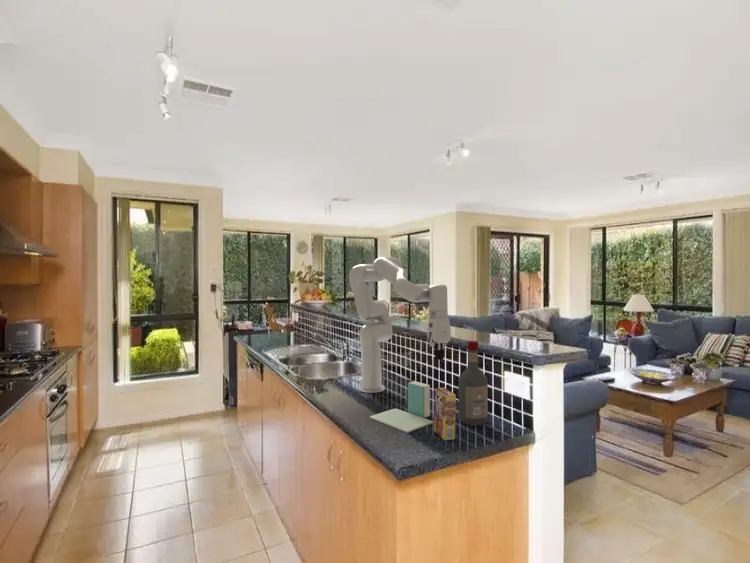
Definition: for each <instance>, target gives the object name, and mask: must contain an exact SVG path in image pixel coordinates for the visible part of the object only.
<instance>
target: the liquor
mask: <svg viewBox="0 0 750 563" xmlns="http://www.w3.org/2000/svg"><path fill="white" fill-rule="evenodd" d="M467 350H468V352H467V353H468V355H467V356H468V357H467V361H468V362H467V367H466V368H465V369H464V370H463V371H462V373H461V374H460V375H459V376H458V420H459V421H460V422H461V423H462V424H464V425H466V426H469V427H478V426H485V425H486V423H487V422H488V415H489V414H488V410H489V409H488V402H489V401H488V397H489V396H488V387H489V386H488V380H489V379H488V378H487V375H486V374H484V372H483V371H482V370H481V369H480V367H479V355H478V353H479V352H478V351H479V341H478V340H477V341H476V340H468V341H467Z"/></svg>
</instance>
